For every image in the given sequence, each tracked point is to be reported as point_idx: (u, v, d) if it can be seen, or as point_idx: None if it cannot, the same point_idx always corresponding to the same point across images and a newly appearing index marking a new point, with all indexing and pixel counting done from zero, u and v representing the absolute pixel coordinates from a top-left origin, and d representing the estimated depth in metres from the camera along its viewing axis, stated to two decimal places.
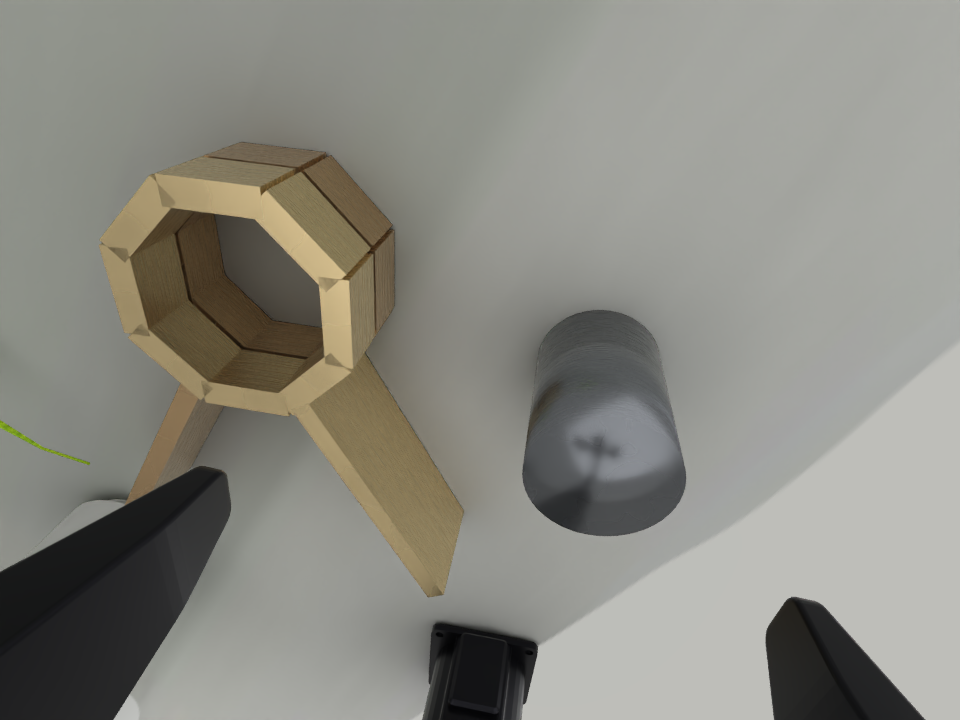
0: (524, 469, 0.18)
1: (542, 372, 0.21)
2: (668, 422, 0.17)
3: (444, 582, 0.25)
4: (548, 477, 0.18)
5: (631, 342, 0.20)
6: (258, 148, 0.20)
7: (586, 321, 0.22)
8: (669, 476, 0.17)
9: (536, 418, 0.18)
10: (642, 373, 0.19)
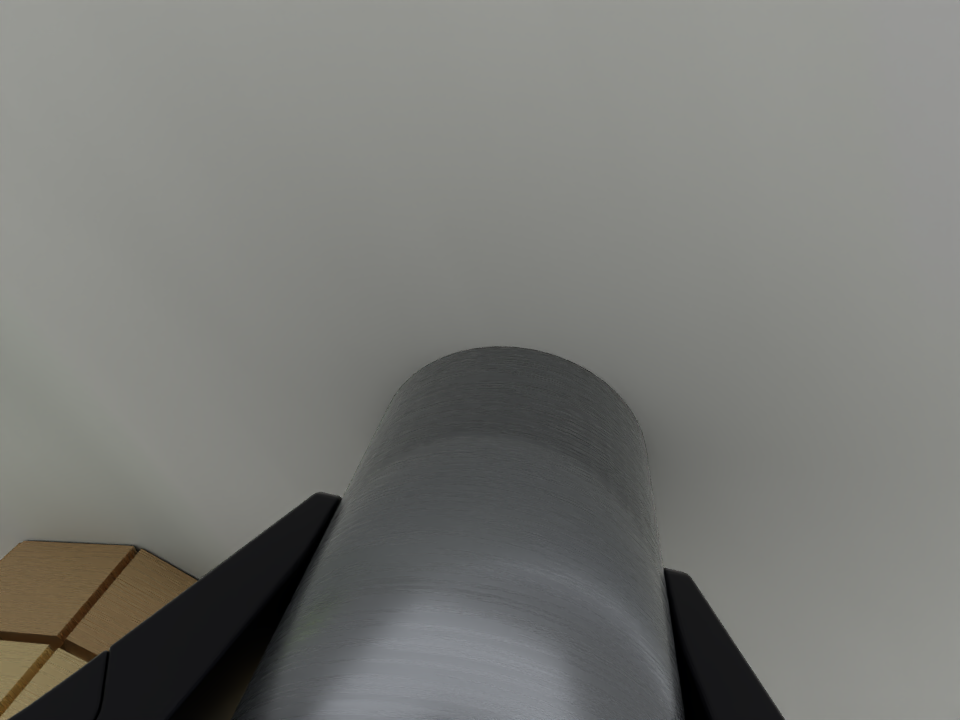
0: None
1: None
2: (390, 715, 0.04)
3: None
4: None
5: (394, 442, 0.08)
6: None
7: None
8: None
9: None
10: (364, 544, 0.06)
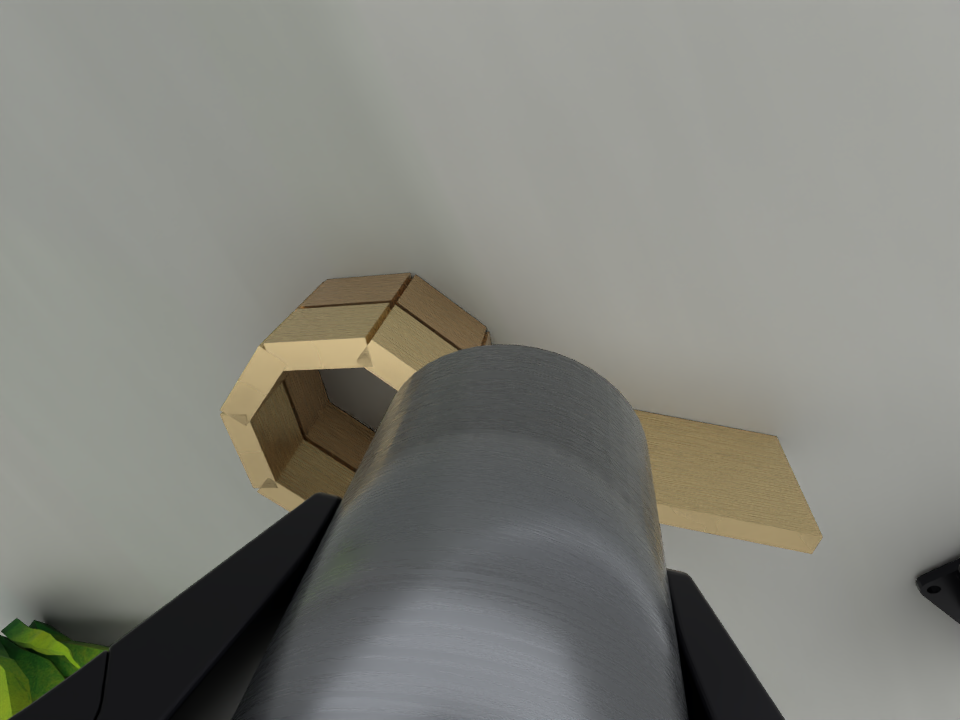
0: None
1: None
2: (393, 713, 0.04)
3: (811, 523, 0.18)
4: None
5: (396, 441, 0.08)
6: None
7: None
8: None
9: None
10: (365, 541, 0.06)
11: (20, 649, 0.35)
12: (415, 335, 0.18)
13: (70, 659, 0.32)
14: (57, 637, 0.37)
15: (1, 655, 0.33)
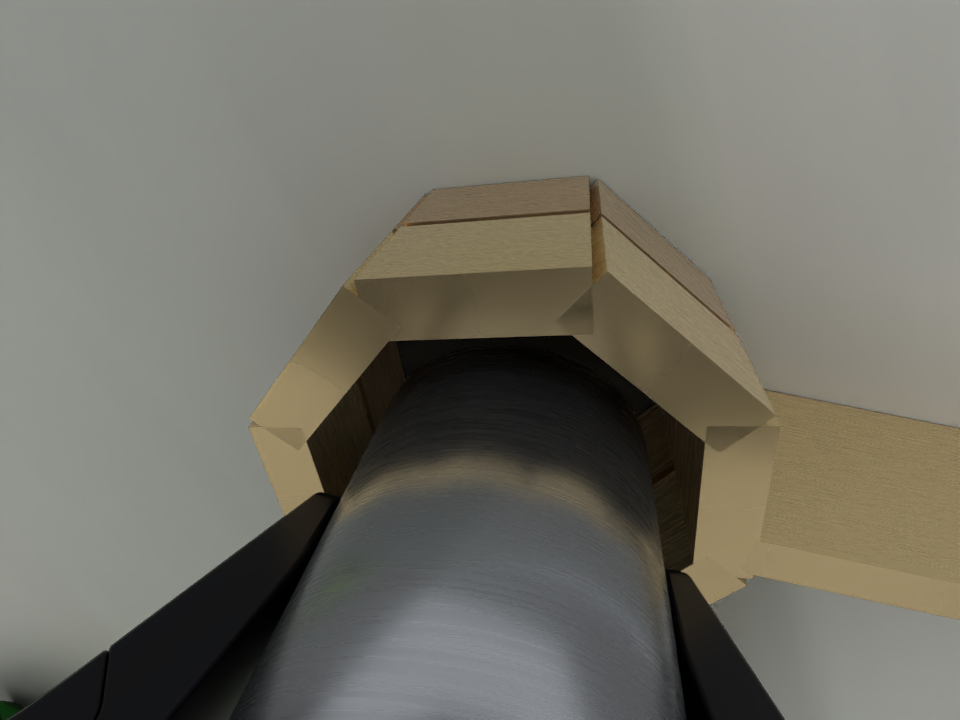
0: None
1: None
2: (390, 713, 0.04)
3: None
4: None
5: (394, 441, 0.08)
6: None
7: None
8: None
9: None
10: (364, 542, 0.06)
11: None
12: (652, 275, 0.09)
13: None
14: None
15: None
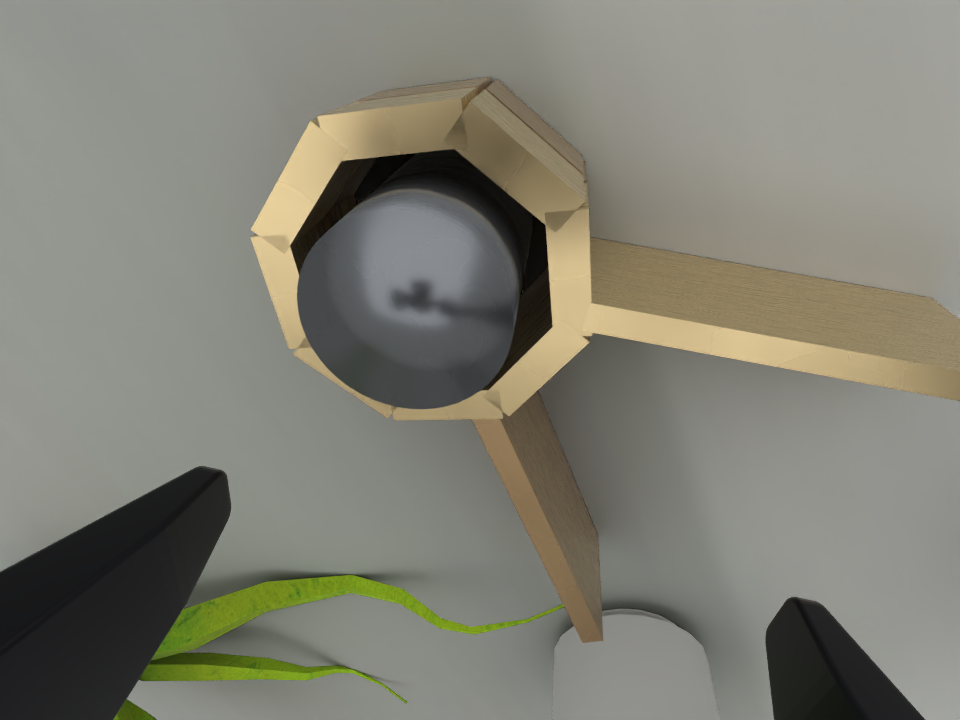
0: (353, 387, 0.14)
1: None
2: (392, 196, 0.12)
3: None
4: (376, 372, 0.14)
5: (392, 174, 0.16)
6: None
7: None
8: (430, 240, 0.12)
9: None
10: (379, 187, 0.14)
11: None
12: (515, 123, 0.14)
13: None
14: None
15: None
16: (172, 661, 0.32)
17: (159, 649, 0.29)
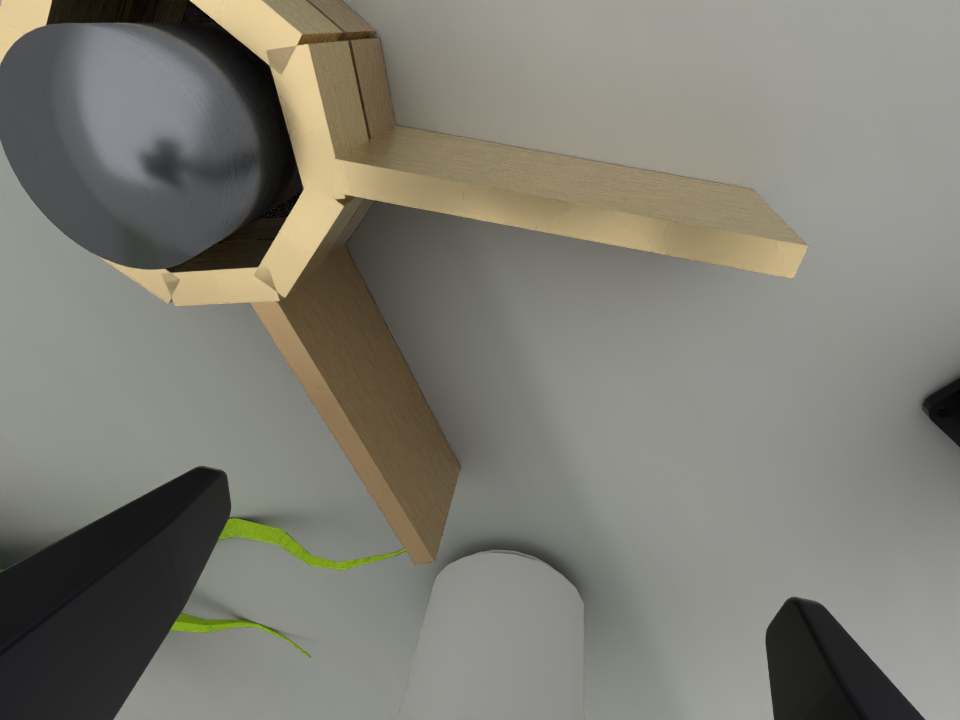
0: (83, 245, 0.13)
1: None
2: None
3: (793, 237, 0.13)
4: (99, 225, 0.13)
5: None
6: None
7: None
8: (109, 60, 0.11)
9: None
10: None
11: None
12: None
13: None
14: None
15: None
16: None
17: None
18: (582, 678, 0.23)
